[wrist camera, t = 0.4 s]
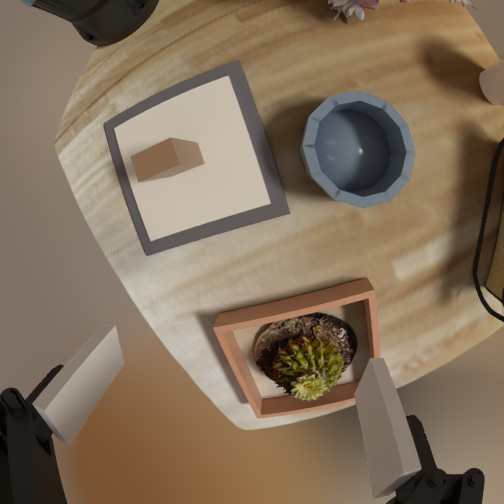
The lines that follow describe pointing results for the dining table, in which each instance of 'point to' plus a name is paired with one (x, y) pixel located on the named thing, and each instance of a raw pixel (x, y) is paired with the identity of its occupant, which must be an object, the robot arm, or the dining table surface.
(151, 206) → the board
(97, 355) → the robot arm
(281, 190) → the rubber mat
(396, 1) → the dining table surface
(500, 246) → the clutch purse
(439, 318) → the dining table surface
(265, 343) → the cactus
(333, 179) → the bowl
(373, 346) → the cactus tray
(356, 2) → the flower
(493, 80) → the foam cup
